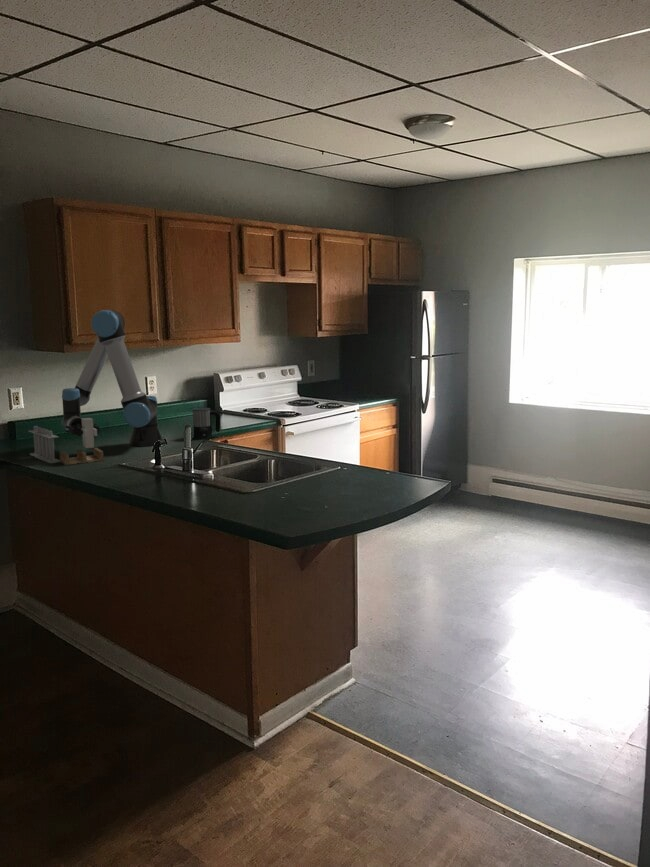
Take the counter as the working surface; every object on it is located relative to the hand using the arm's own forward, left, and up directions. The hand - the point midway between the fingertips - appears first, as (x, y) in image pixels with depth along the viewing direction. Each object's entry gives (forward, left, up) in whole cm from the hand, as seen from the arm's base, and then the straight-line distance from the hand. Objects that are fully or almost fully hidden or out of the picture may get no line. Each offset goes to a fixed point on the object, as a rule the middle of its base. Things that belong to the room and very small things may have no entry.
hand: (91, 433), depth 300 cm
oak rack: (+3, -5, -12) cm, 14 cm away
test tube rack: (+15, -20, -13) cm, 28 cm away
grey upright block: (0, -6, -7) cm, 9 cm away
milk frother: (-64, -35, -13) cm, 74 cm away
